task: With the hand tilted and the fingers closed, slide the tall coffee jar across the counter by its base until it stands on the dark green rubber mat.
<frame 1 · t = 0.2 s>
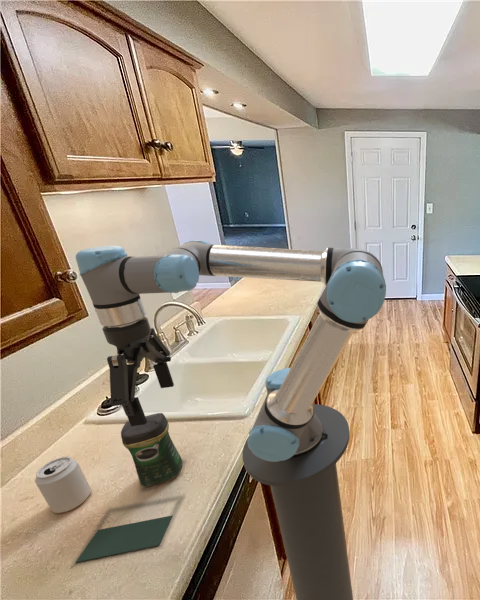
hand: (154, 404, 76), 27 cm above the worktop, tool pointing down, fingers open, 13 cm apart
can: (73, 501, 84), on the worktop
coffee jar: (162, 474, 91), on the worktop
mat: (133, 527, 77), on the worktop
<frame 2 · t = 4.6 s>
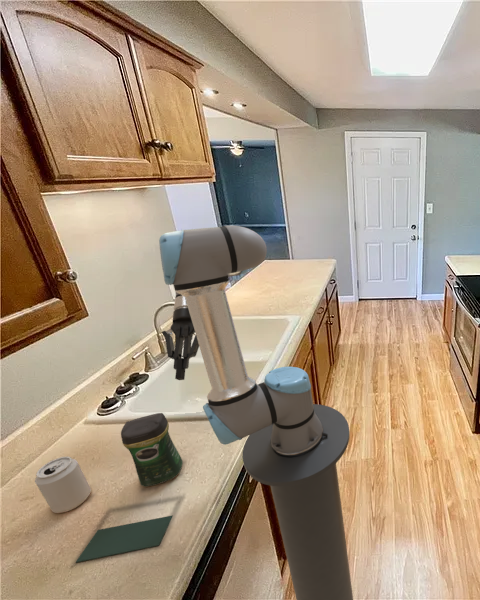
hand: (179, 379, 105), 16 cm above the worktop, tool tilted 45°, fingers closed
nothing on the worktop moved.
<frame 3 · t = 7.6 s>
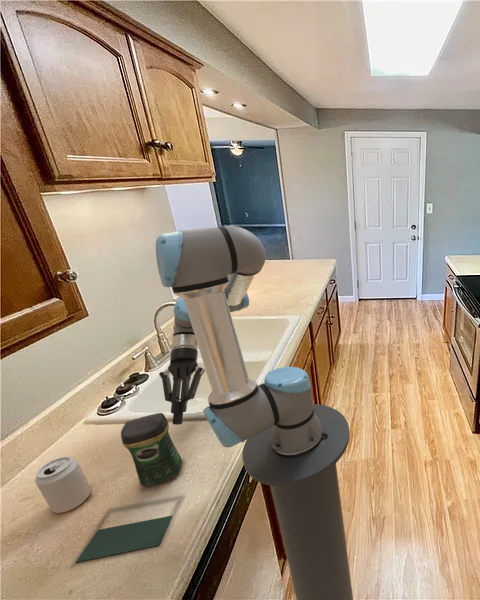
hand: (177, 424, 101), 6 cm above the worktop, tool tilted 45°, fingers closed
nothing on the worktop moved.
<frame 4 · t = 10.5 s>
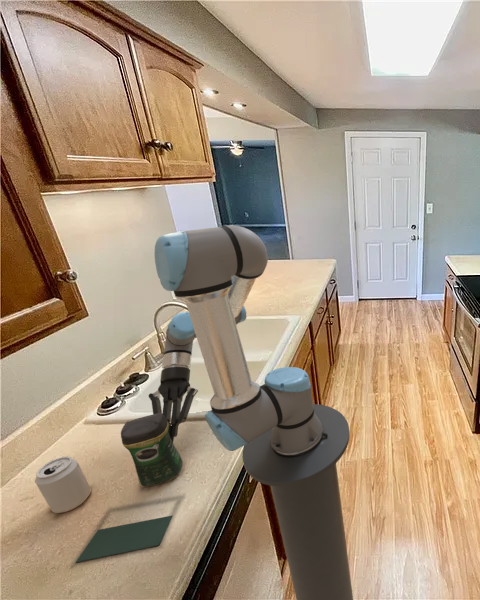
hand: (167, 450, 94), 4 cm above the worktop, tool tilted 45°, fingers closed
coffee jar: (162, 474, 91), on the worktop, touching gripper
everything else where it was.
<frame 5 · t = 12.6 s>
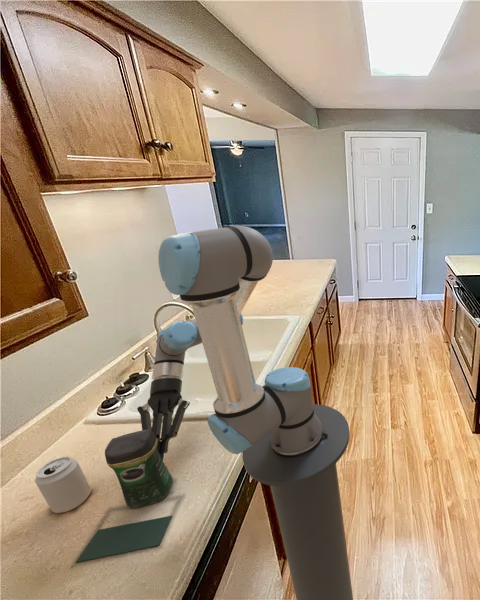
hand: (156, 467, 88), 4 cm above the worktop, tool tilted 45°, fingers closed
coffee jar: (151, 494, 85), on the worktop, touching gripper
everything else where it was.
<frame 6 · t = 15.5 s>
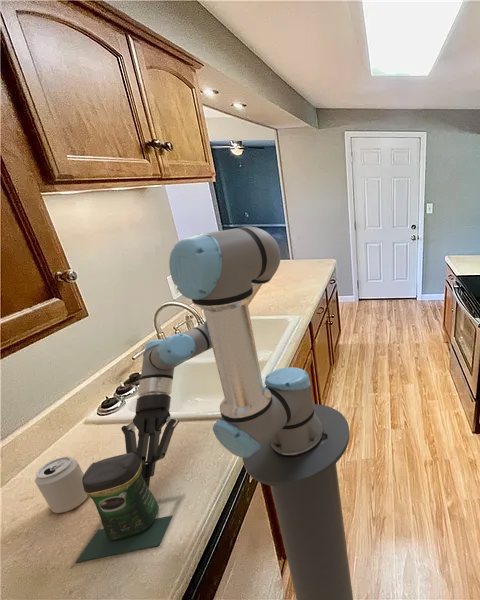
hand: (141, 493, 81), 4 cm above the worktop, tool tilted 45°, fingers closed
coffee jar: (134, 523, 78), on the worktop, touching gripper, mat
everything else where it was.
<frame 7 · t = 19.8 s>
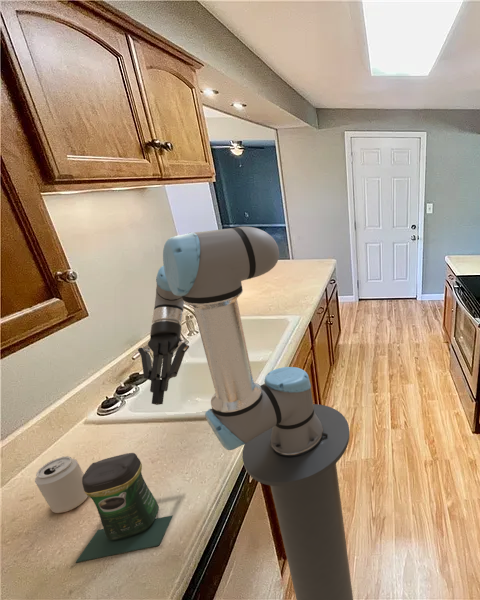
hand: (157, 403, 91), 18 cm above the worktop, tool tilted 45°, fingers closed
coffee jar: (134, 523, 78), on the worktop, touching mat
everything else where it was.
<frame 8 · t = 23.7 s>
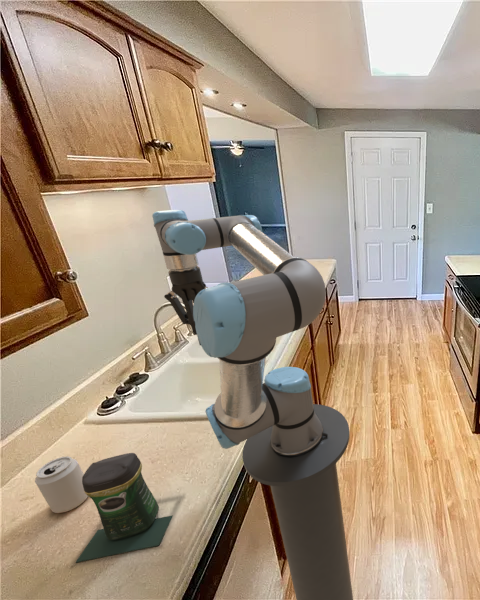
hand: (204, 343, 99), 29 cm above the worktop, tool pointing down, fingers closed
nothing on the worktop moved.
at the end: coffee jar inside the target area (0.9 cm from its centre), on the worktop; coffee jar tilted 1°; coffee jar moved 14.1 cm from its start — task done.
